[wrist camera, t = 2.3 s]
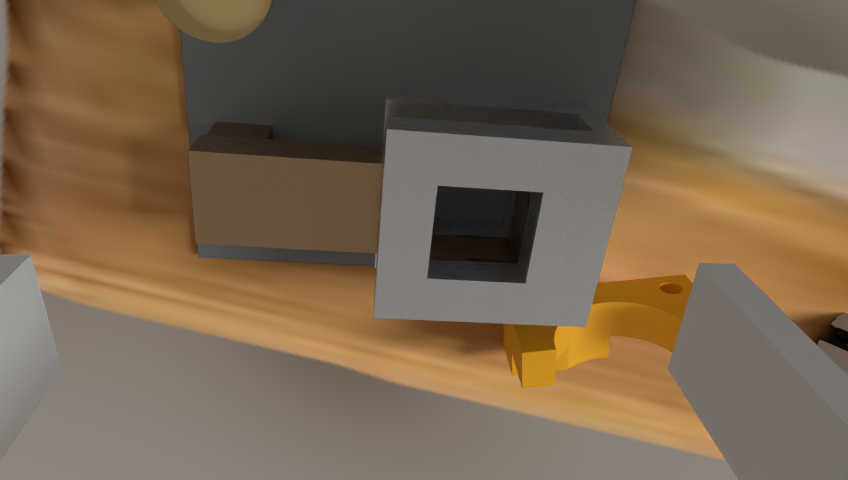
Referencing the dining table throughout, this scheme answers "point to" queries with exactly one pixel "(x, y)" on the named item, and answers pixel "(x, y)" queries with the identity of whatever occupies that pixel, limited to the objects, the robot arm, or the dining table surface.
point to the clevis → (432, 203)
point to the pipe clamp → (599, 328)
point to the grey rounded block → (838, 343)
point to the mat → (398, 76)
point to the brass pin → (216, 17)
